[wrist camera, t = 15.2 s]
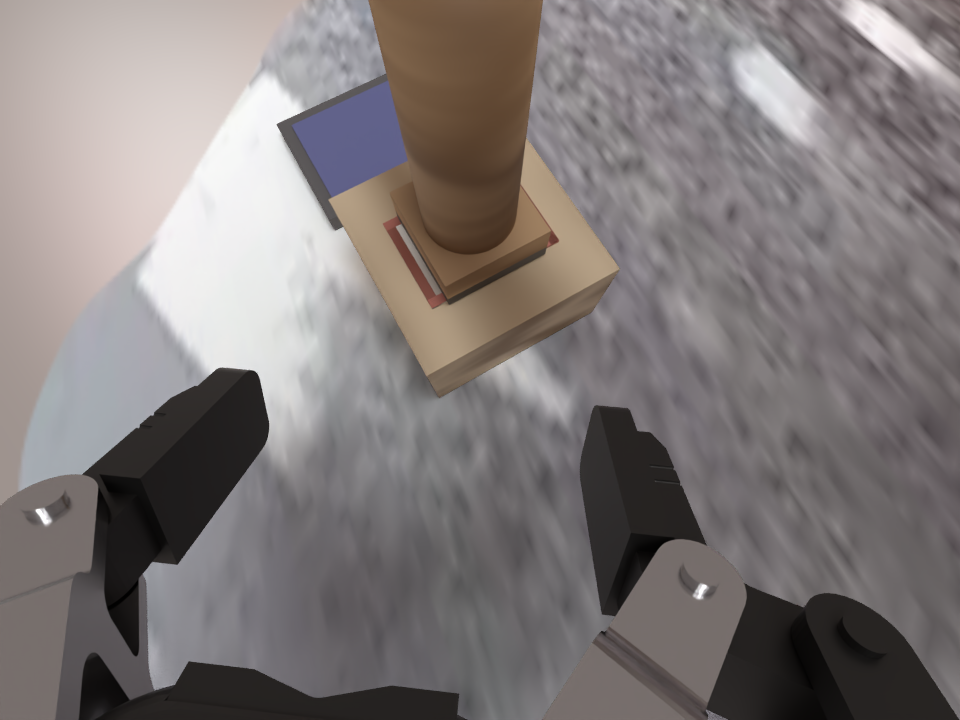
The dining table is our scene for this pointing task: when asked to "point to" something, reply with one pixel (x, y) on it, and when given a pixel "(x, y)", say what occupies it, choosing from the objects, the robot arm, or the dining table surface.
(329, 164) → the ink pad
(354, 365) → the dining table surface
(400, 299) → the parcel
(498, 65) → the stamp
